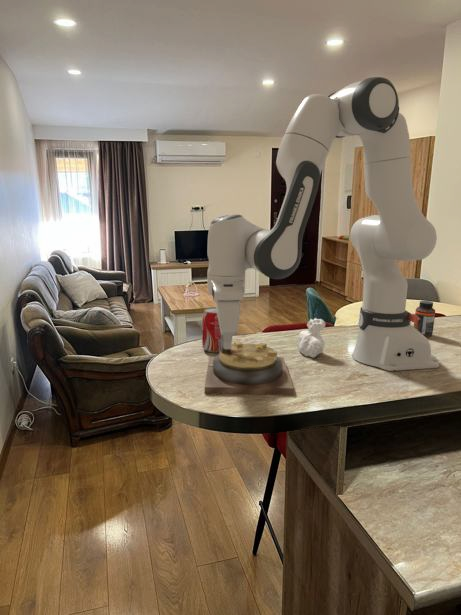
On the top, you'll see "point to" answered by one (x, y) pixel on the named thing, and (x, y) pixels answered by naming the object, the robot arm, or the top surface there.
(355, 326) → the top surface
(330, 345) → the top surface
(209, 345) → the soda can
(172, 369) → the top surface
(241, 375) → the cap housing
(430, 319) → the supplement bottle
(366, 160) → the robot arm
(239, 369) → the gold dial with handle
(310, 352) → the white tied sack
